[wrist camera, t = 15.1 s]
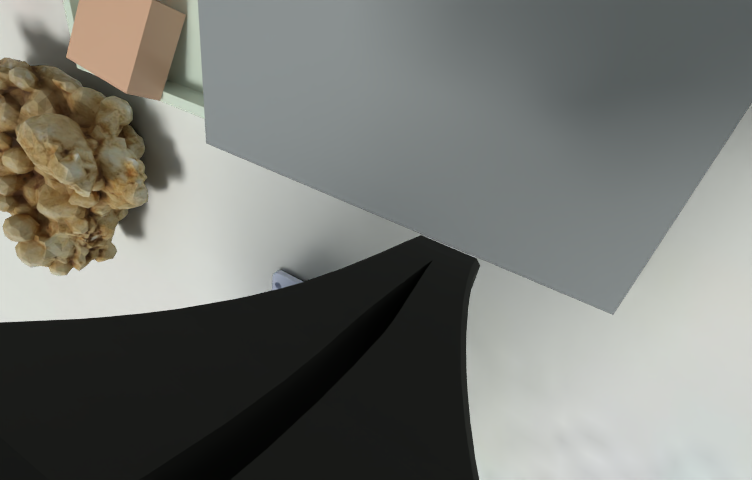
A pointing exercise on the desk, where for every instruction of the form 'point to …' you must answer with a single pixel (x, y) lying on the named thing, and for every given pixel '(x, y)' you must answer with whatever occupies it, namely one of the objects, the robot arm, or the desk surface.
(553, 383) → the desk surface
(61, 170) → the mineral formation
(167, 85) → the tray
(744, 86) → the board
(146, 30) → the tile
